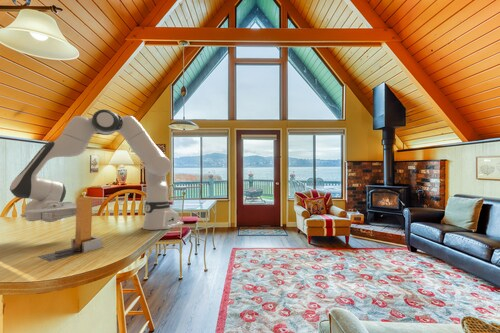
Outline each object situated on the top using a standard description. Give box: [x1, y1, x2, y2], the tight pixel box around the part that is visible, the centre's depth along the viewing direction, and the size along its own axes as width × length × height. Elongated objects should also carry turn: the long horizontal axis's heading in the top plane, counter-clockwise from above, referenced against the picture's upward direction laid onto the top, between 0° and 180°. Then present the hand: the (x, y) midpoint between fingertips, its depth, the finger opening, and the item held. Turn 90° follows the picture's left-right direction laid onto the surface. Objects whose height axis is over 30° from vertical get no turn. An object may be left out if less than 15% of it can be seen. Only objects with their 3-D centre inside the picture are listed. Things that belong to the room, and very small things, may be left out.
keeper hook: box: [70, 235, 103, 253], centre depth 91 cm, size 6×9×4 cm
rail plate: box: [37, 246, 104, 262], centre depth 86 cm, size 17×9×1 cm, turn 151°
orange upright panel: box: [54, 196, 93, 255], centre depth 87 cm, size 11×5×19 cm, turn 151°
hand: (67, 214), depth 96 cm, fingers open, 8 cm apart
